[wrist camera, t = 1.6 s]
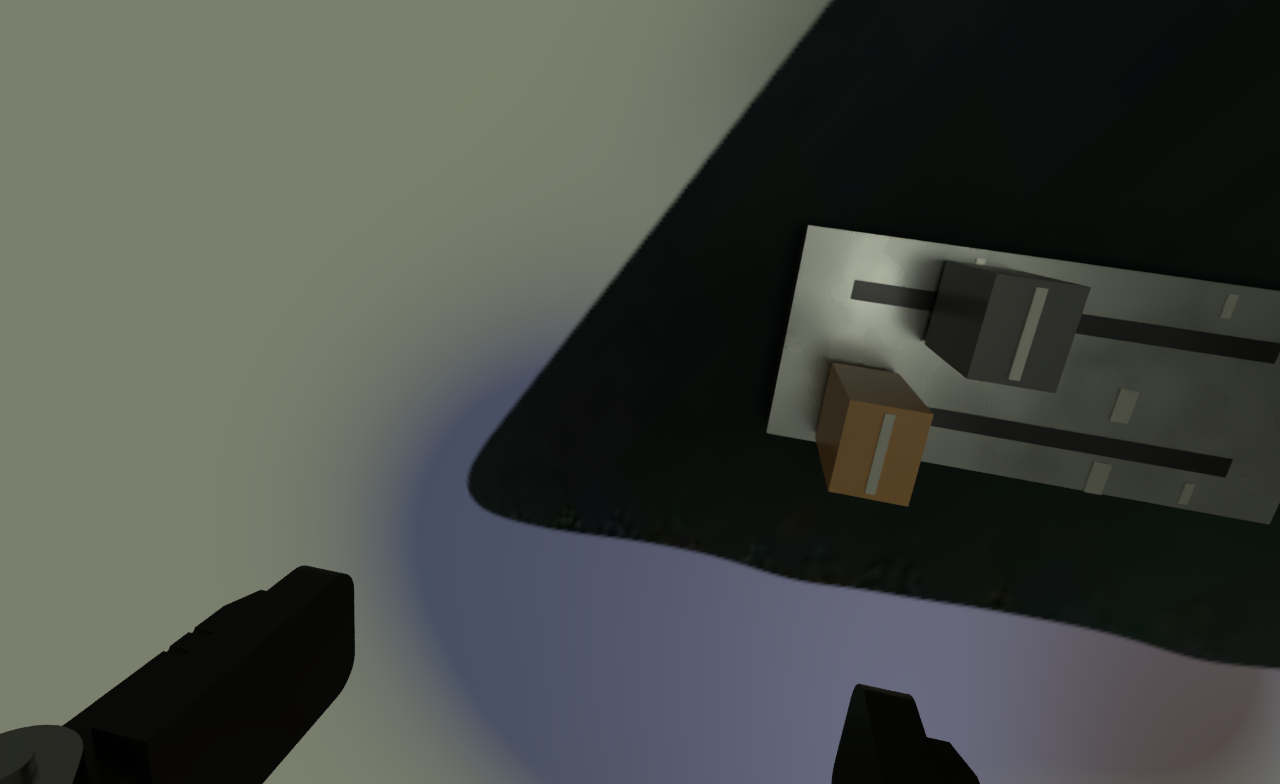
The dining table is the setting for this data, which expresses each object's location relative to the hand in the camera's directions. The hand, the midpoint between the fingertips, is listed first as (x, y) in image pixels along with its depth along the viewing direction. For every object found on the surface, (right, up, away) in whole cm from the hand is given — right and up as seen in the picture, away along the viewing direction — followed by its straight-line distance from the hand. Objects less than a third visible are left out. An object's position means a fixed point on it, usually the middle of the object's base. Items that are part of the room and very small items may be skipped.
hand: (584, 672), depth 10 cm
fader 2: (+12, +7, +13) cm, 19 cm away
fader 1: (+9, +4, +14) cm, 17 cm away
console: (+15, +5, +15) cm, 22 cm away
